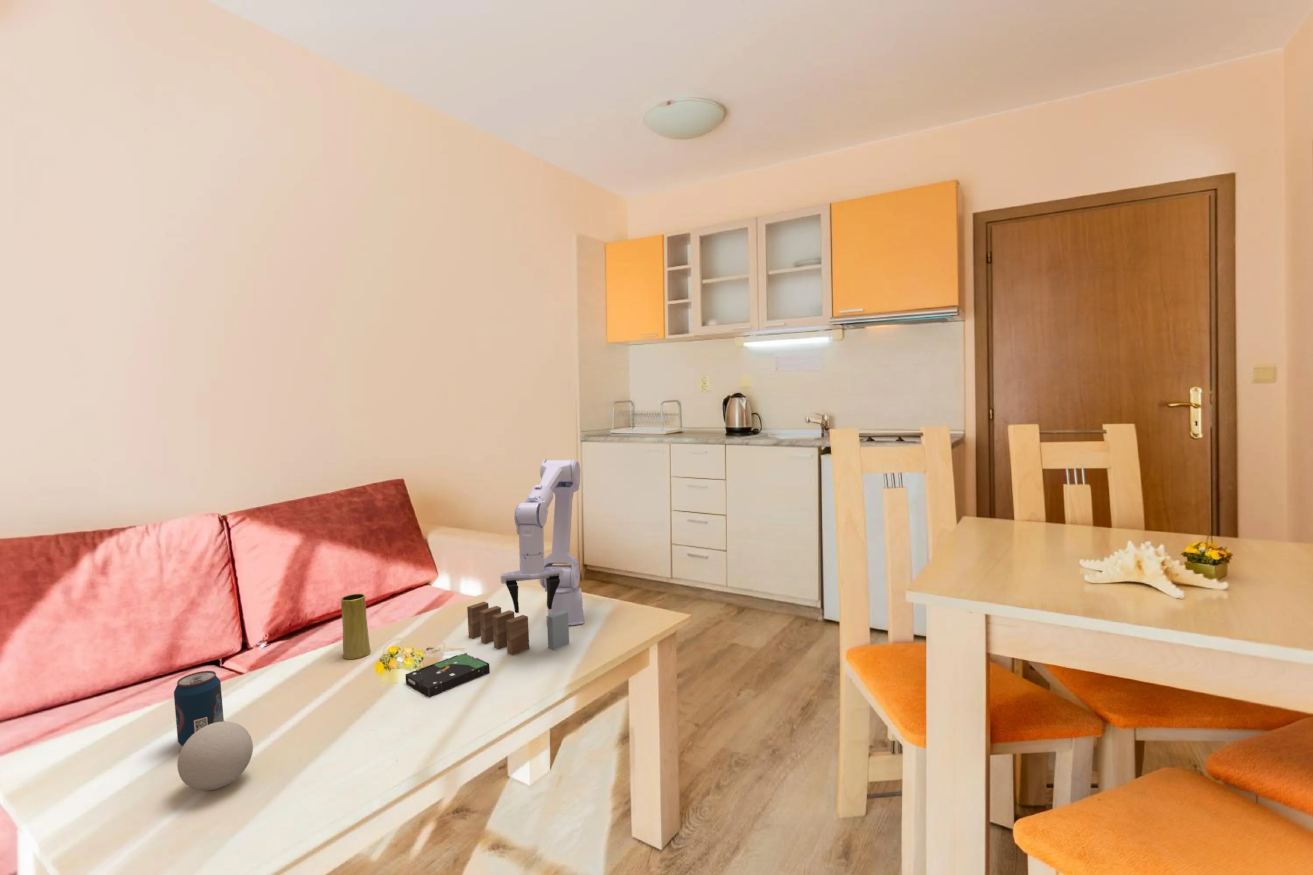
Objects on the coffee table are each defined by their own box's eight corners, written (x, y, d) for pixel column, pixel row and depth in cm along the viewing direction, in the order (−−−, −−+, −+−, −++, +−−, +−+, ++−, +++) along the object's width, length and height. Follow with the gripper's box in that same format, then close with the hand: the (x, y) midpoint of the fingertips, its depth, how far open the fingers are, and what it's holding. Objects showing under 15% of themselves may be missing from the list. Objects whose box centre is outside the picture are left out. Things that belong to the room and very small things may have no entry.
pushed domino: (489, 632, 165) (488, 602, 164) (473, 638, 161) (471, 608, 160) (485, 631, 166) (483, 601, 165) (468, 637, 162) (467, 606, 162)
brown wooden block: (515, 643, 157) (514, 611, 157) (498, 649, 154) (497, 617, 153) (510, 641, 159) (509, 610, 158) (493, 647, 155) (492, 615, 154)
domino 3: (529, 648, 154) (527, 616, 153) (512, 655, 150) (510, 622, 150) (524, 646, 155) (522, 614, 155) (507, 653, 151) (505, 620, 151)
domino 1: (502, 637, 161) (501, 607, 160) (485, 644, 157) (484, 612, 157) (497, 636, 162) (496, 605, 162) (481, 642, 159) (479, 611, 158)
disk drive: (430, 701, 130) (491, 674, 141) (429, 687, 130) (490, 662, 141) (405, 686, 137) (465, 662, 148) (404, 674, 136) (464, 650, 148)
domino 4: (569, 643, 156) (568, 611, 156) (553, 649, 153) (552, 617, 152) (563, 641, 158) (562, 610, 157) (548, 647, 154) (546, 615, 153)
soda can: (178, 739, 116) (172, 676, 116) (223, 726, 121) (218, 665, 120) (178, 756, 111) (172, 690, 110) (226, 741, 115) (220, 678, 114)
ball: (167, 809, 96) (161, 747, 96) (197, 772, 106) (193, 714, 105) (240, 798, 99) (235, 736, 98) (264, 762, 108) (260, 706, 108)
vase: (337, 657, 151) (333, 599, 150) (357, 647, 157) (354, 591, 156) (356, 661, 149) (352, 602, 148) (376, 650, 155) (372, 594, 154)
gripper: (502, 559, 143) (504, 618, 143) (565, 553, 148) (567, 610, 148) (498, 553, 149) (500, 610, 150) (559, 547, 154) (560, 602, 155)
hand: (533, 609), depth 149 cm, fingers open, 7 cm apart
